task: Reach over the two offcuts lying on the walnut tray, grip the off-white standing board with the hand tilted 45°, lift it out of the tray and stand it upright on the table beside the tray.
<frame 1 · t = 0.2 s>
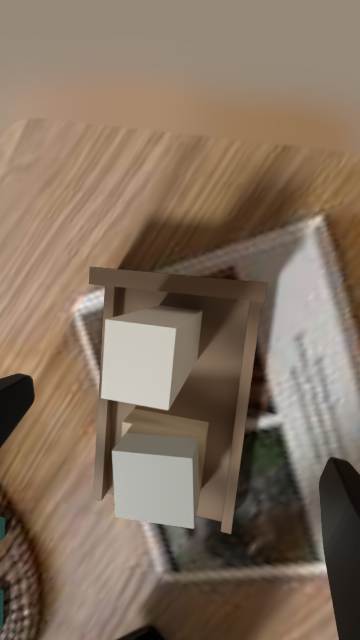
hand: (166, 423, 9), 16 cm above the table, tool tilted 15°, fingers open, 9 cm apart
tall board: (178, 332, 23), point 1 cm above the table, touching walnut tray
pine offcut: (167, 448, 25), point 1 cm above the table, touching grey offcut, walnut tray
grey offcut: (162, 466, 22), point 3 cm above the table, touching pine offcut
walnut tray: (174, 393, 25), on the table
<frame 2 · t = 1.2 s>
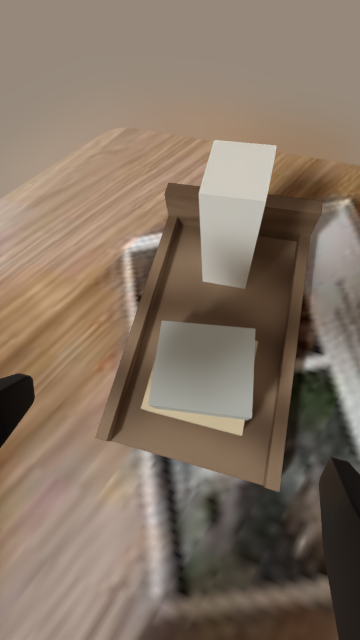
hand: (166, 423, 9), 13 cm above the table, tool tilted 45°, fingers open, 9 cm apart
tall board: (228, 264, 25), point 1 cm above the table, touching walnut tray
pine offcut: (201, 380, 21), point 1 cm above the table, touching grey offcut, walnut tray
grey offcut: (204, 374, 19), point 3 cm above the table, touching pine offcut
walnut tray: (214, 328, 24), on the table
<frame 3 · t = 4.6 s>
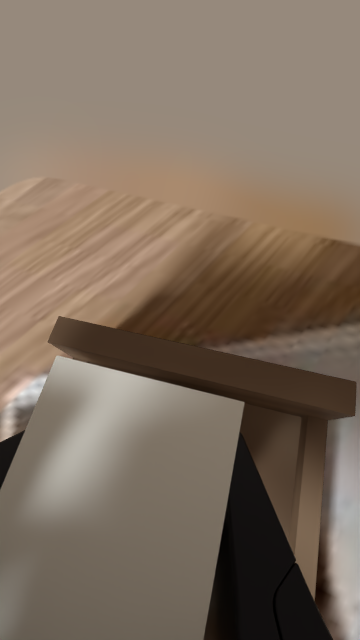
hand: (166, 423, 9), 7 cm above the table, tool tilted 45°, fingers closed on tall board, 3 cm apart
tall board: (174, 461, 13), point 1 cm above the table, touching gripper, walnut tray
walnut tray: (143, 601, 12), on the table
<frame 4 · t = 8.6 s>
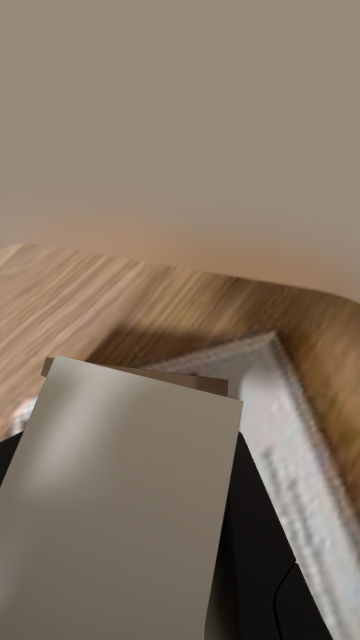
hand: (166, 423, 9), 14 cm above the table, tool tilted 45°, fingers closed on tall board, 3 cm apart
tall board: (174, 461, 13), point 8 cm above the table, touching gripper
walnut tray: (119, 533, 19), on the table
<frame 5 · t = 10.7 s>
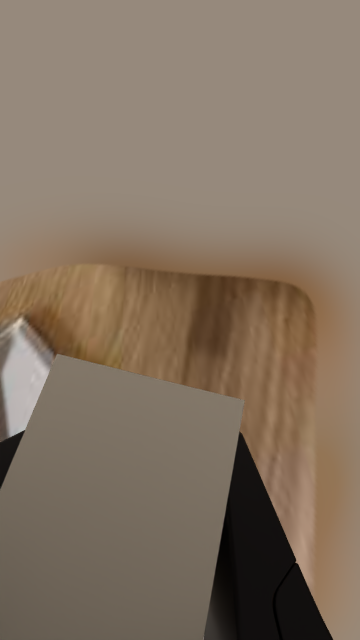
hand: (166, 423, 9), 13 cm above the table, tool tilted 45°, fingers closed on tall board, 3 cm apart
tall board: (174, 461, 13), point 8 cm above the table, touching gripper
when the fingers open (7 cm above the table, at t = 12.5 s): tall board drops 1 cm, on the table.
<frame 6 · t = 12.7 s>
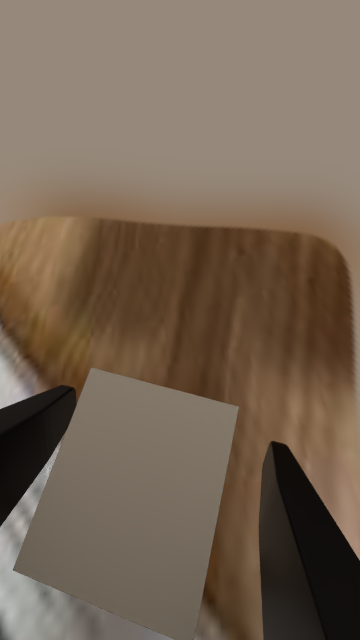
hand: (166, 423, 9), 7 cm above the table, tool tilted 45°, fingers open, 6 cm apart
tall board: (178, 458, 15), on the table
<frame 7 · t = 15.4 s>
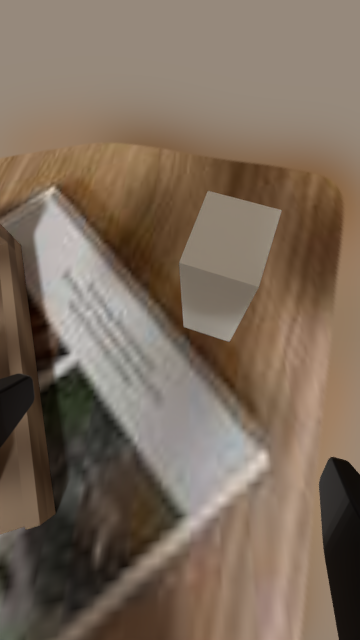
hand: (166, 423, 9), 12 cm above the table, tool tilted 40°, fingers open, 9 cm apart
tall board: (214, 310, 22), on the table
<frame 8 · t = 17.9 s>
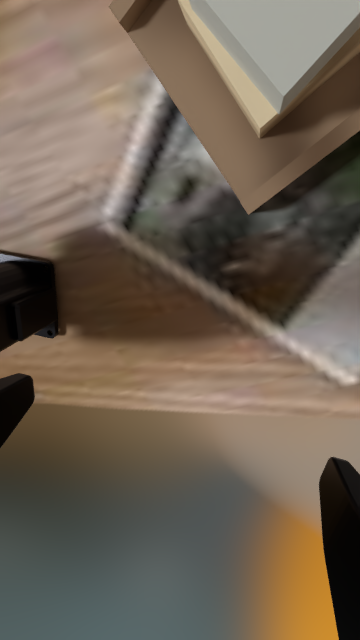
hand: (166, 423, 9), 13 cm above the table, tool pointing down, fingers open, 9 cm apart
pine offcut: (277, 30, 14), point 1 cm above the table, touching grey offcut, walnut tray
grey offcut: (285, 1, 12), point 3 cm above the table, touching pine offcut
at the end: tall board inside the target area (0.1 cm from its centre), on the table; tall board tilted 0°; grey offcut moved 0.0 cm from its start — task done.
